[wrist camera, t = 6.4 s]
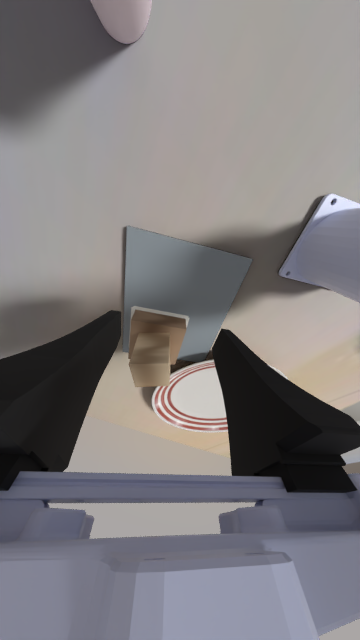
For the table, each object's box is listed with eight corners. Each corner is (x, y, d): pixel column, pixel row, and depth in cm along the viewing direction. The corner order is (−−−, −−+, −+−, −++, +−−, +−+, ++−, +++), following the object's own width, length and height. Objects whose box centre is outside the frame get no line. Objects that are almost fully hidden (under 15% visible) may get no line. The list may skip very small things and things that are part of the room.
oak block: (169, 332, 19) (168, 363, 15) (170, 354, 22) (169, 386, 17) (138, 333, 19) (128, 364, 15) (143, 354, 21) (135, 387, 17)
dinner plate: (145, 414, 38) (143, 430, 35) (167, 333, 23) (166, 349, 20) (242, 422, 42) (246, 436, 40) (311, 359, 28) (327, 374, 25)
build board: (250, 258, 17) (253, 259, 17) (202, 360, 27) (203, 363, 27) (128, 225, 15) (126, 225, 15) (123, 349, 25) (122, 351, 24)
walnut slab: (185, 318, 21) (186, 329, 19) (174, 352, 25) (175, 364, 23) (135, 309, 20) (130, 319, 18) (132, 346, 24) (128, 358, 22)
